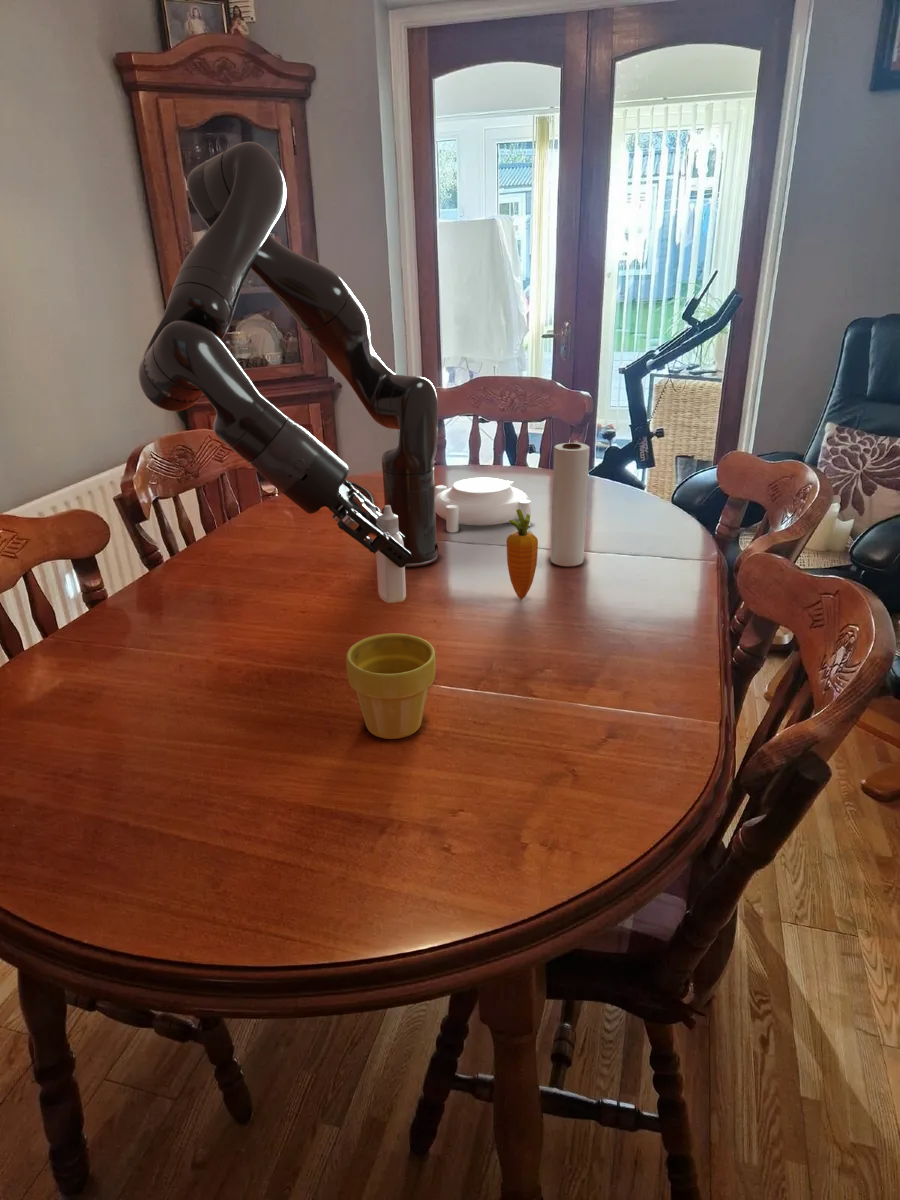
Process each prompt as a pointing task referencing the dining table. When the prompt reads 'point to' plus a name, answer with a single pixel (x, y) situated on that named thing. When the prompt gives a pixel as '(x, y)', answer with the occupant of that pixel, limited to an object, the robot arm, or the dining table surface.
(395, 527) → the eye dropper bottle
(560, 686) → the dining table surface
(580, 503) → the paper towel roll
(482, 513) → the round stand with pegs
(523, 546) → the carrot
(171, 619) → the dining table surface
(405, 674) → the flower pot
